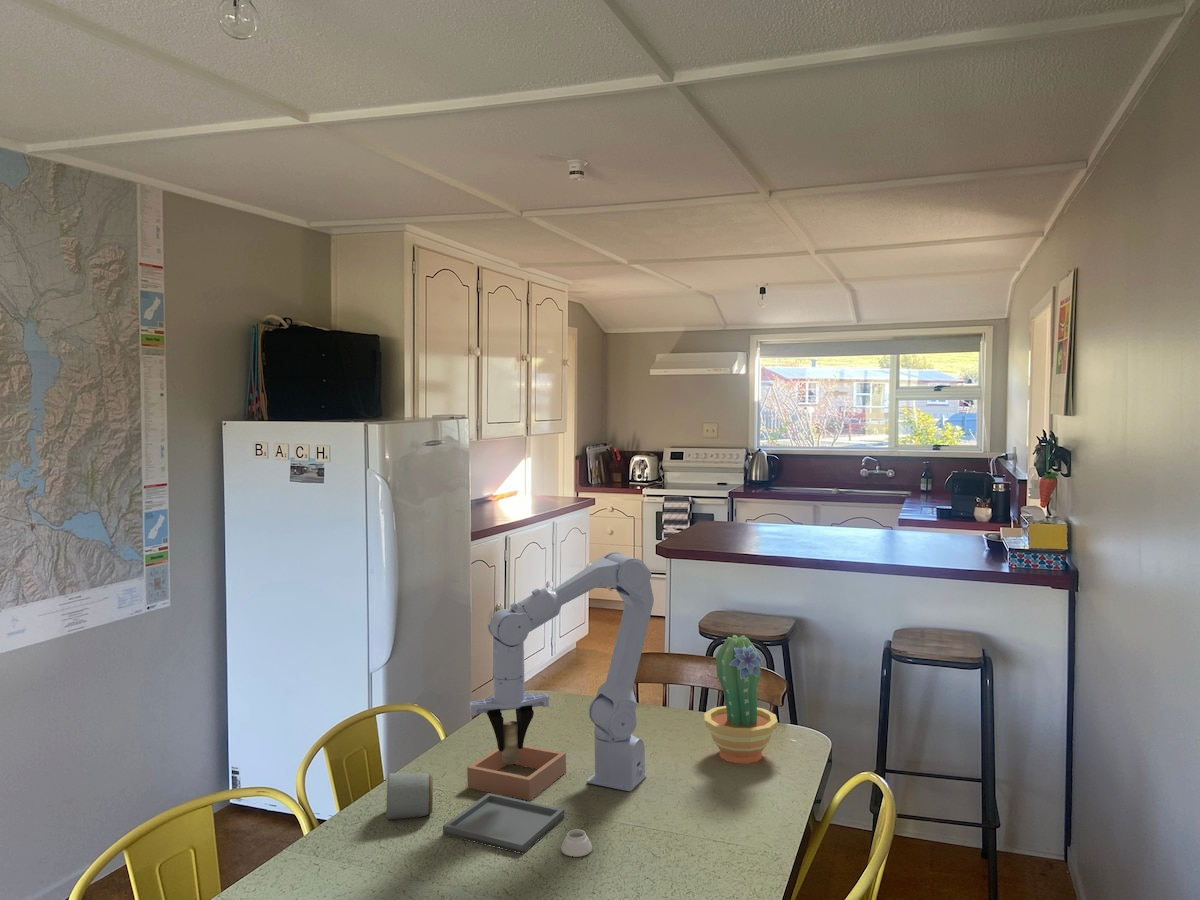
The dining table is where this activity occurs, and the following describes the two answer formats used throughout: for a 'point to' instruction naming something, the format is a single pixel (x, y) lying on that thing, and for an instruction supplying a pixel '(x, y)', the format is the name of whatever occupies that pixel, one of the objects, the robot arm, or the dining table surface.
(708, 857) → the dining table surface
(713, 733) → the potted cactus
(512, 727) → the maple pin
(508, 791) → the terracotta planter box
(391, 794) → the ceramic mug
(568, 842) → the white jar
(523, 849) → the slate tray
